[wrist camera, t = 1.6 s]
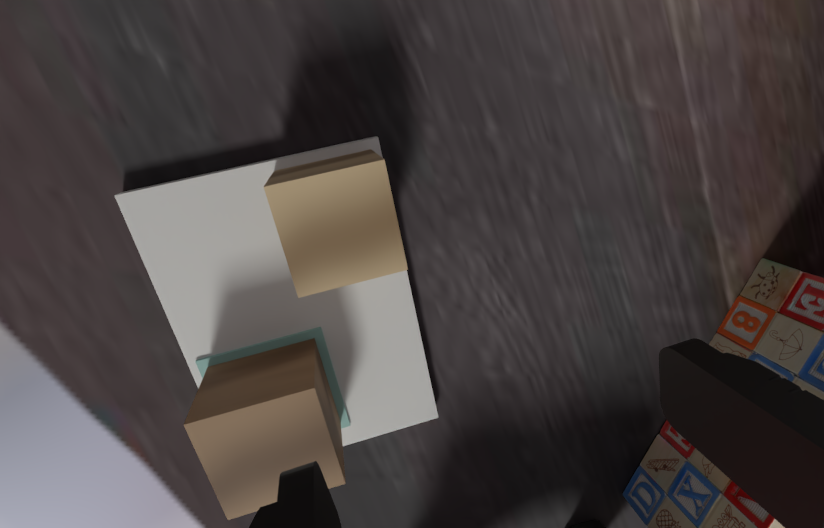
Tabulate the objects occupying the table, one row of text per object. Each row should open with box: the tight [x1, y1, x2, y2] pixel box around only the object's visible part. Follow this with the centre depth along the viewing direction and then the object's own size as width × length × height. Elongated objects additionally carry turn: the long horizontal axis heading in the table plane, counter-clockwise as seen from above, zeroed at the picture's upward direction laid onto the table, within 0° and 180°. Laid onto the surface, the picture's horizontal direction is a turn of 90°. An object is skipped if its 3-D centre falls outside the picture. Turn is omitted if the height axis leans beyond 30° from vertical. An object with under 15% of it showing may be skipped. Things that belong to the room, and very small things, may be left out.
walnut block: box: [184, 338, 346, 520], centre depth 24 cm, size 6×6×5 cm
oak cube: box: [264, 149, 408, 298], centre depth 22 cm, size 5×5×5 cm
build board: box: [114, 136, 438, 446], centre depth 26 cm, size 18×13×1 cm
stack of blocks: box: [623, 258, 824, 528], centre depth 30 cm, size 21×6×12 cm, turn 158°
